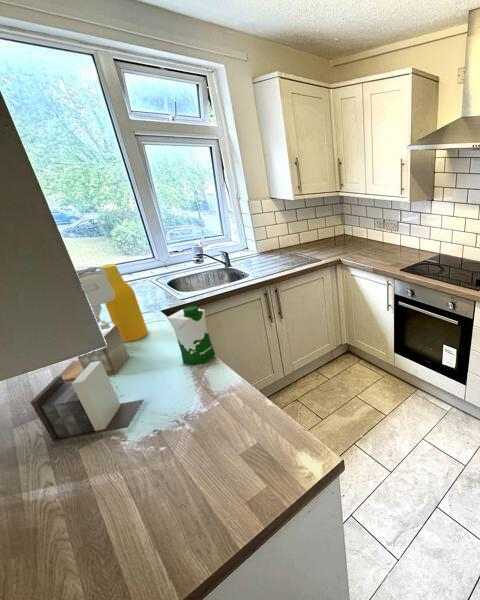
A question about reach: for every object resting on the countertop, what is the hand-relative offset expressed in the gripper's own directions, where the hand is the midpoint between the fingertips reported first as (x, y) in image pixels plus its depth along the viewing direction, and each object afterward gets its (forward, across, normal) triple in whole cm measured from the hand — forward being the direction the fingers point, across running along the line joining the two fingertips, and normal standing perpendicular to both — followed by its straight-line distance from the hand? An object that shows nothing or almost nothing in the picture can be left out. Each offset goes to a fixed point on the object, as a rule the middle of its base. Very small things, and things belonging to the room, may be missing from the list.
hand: (73, 331), depth 79 cm
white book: (+26, +1, +1) cm, 26 cm away
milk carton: (+27, -28, -3) cm, 39 cm away
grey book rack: (+27, +2, 0) cm, 27 cm away
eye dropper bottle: (+27, -20, -37) cm, 49 cm away
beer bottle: (+27, -28, -41) cm, 56 cm away
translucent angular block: (+27, -10, -30) cm, 41 cm away
